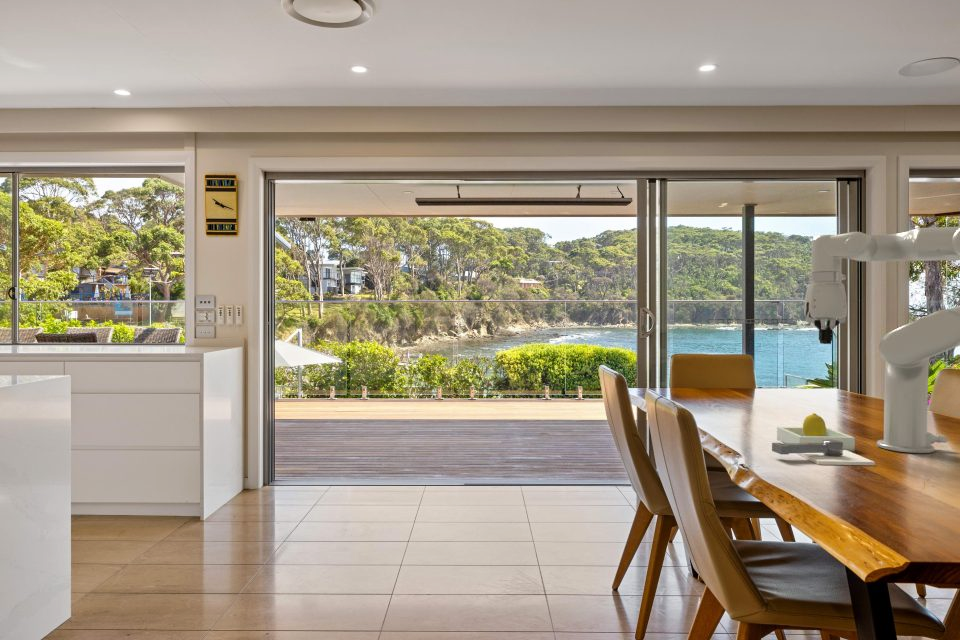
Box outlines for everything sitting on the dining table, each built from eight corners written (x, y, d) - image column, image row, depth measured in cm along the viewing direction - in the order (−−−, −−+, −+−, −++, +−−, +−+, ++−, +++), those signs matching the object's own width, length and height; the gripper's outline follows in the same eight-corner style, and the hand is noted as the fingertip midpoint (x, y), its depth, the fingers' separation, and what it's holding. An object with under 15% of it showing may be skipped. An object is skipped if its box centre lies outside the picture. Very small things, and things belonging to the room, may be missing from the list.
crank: (835, 451, 158) (835, 439, 158) (846, 455, 154) (847, 443, 154) (771, 452, 157) (771, 440, 156) (781, 456, 152) (781, 444, 152)
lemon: (820, 441, 174) (820, 411, 174) (829, 445, 168) (829, 415, 168) (799, 440, 175) (799, 411, 175) (807, 444, 169) (807, 414, 169)
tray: (827, 440, 178) (828, 427, 178) (854, 451, 164) (854, 437, 164) (776, 439, 179) (777, 427, 179) (799, 450, 165) (799, 436, 165)
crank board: (845, 453, 162) (845, 449, 162) (874, 465, 149) (874, 461, 149) (793, 452, 163) (793, 448, 163) (817, 464, 150) (817, 460, 150)
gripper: (846, 279, 183) (845, 343, 183) (793, 279, 184) (792, 342, 184) (860, 278, 175) (859, 344, 176) (805, 278, 176) (804, 344, 176)
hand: (825, 343), depth 180 cm, fingers closed
